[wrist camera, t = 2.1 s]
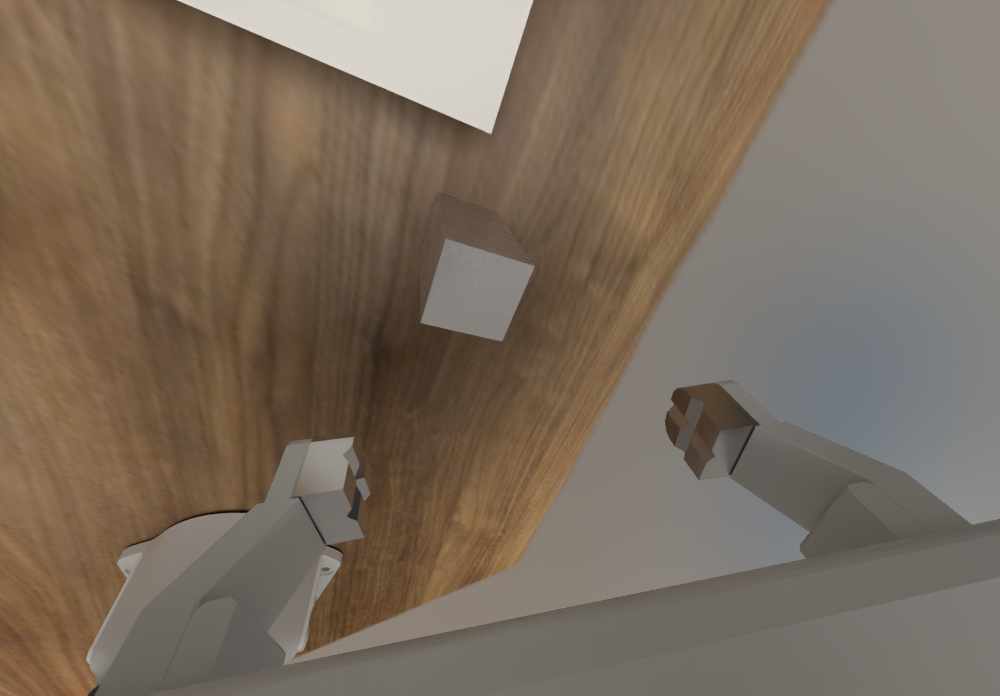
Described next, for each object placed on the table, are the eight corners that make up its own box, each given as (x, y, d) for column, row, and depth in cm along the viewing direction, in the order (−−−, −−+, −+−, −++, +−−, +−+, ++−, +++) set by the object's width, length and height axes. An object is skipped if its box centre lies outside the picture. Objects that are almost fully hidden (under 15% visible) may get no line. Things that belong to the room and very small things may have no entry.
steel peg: (477, 270, 26) (502, 341, 18) (419, 254, 24) (420, 323, 17) (498, 213, 24) (534, 266, 16) (436, 191, 22) (445, 238, 15)
